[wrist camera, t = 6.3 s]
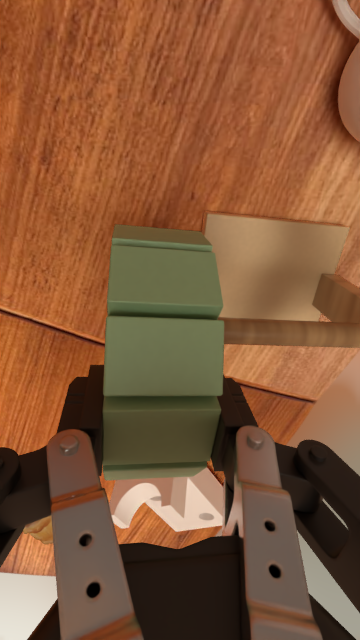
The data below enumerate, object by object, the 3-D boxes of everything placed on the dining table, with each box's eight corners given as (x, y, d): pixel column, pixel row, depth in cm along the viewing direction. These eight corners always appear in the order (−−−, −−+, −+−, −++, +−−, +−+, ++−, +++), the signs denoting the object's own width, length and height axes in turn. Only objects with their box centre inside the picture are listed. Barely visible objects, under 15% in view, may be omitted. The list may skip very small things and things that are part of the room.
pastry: (114, 513, 41) (112, 545, 37) (75, 537, 42) (70, 570, 39) (57, 479, 37) (50, 512, 33) (16, 507, 38) (5, 541, 35)
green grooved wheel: (114, 372, 24) (102, 539, 14) (118, 208, 19) (102, 279, 8) (168, 372, 24) (194, 532, 14) (186, 214, 19) (249, 287, 9)
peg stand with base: (182, 332, 30) (207, 423, 20) (198, 210, 25) (242, 248, 15) (307, 337, 32) (387, 421, 22) (344, 224, 27) (469, 266, 17)
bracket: (124, 446, 37) (106, 516, 31) (178, 432, 35) (170, 505, 28) (178, 502, 43) (172, 570, 37) (228, 493, 41) (229, 565, 34)
